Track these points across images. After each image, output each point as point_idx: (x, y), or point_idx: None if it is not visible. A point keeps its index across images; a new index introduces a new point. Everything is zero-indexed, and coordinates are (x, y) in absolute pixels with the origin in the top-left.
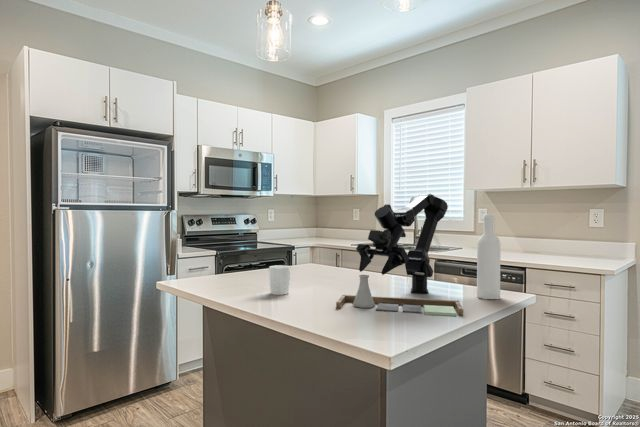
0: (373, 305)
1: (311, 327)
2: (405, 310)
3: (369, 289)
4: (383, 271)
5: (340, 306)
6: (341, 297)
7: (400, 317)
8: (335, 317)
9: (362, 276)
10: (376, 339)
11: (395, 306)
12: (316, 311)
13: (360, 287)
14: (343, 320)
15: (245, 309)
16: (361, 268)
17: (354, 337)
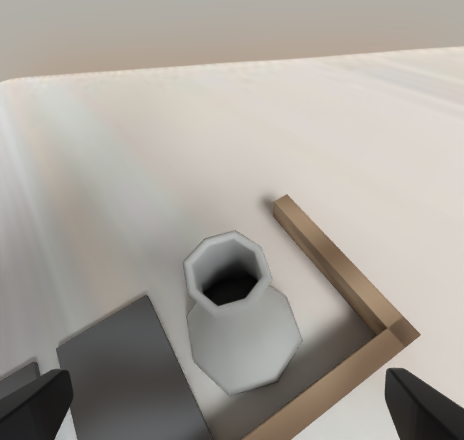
0: (191, 342)
1: (190, 77)
2: (21, 380)
3: (204, 324)
4: (33, 386)
5: (279, 219)
6: (357, 275)
7: (27, 280)
8: (205, 145)
9: (213, 237)
10: (37, 109)
11: (91, 426)
12: (298, 148)
13: (237, 269)
14: (168, 142)
15: (434, 52)
16: (400, 402)
17: (81, 93)
